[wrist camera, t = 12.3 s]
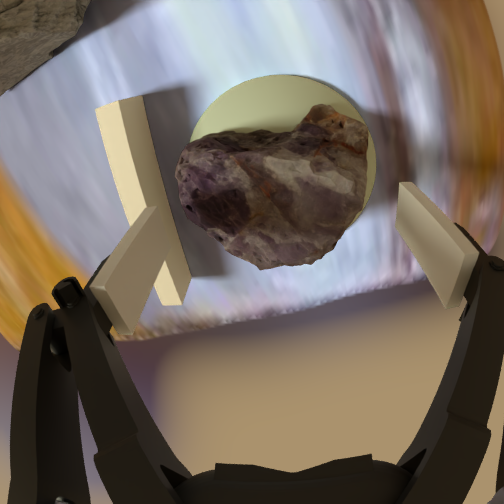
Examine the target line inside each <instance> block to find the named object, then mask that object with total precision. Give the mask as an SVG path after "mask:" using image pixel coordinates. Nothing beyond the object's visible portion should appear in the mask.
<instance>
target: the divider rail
mask: <svg viewBox="0 0 504 504" xmlns="http://www.w3.org/2000/svg"><path fill="white" fill-rule="evenodd" d="M95 111H96V115H97V119H98V123H99V127H100V131H101V135H102V139H103V143H104V146H105V150H106V153H107V157H108V160H109V164H110V167H111V171H112V174H113V177H114V180H115V183H116V187H117V190H118V193H119V196H120V199H121V202H122V205H123V208H124V210H125V213H126V216H127V219H128V222H129V224H130V227H131V226H132V225H133V223H134V222H135V221H136V219H137V218H138V217H139V215H140V214H141V213H142V211H143V210H144V209H145V208H147V207H153V206H158V209H159V212H160V215H161V218H162V222H163V225H164V228H165V231H166V234H167V237H168V240H169V243H170V246H171V248H170V250H169V253H168V255H167V257H166V259H165V261H164V263H163V265H162V268H161V270H160V272H159V274H158V276H157V278H156V281H155V283H154V287H155V289H156V292H157V294H158V296H159V298H160V300H161V303H162V305H182V304H183V301H184V298H185V295H186V292H187V289H188V287H189V284H190V281H191V278H192V277H191V274H190V271H189V267H188V264H187V261H186V258H185V255H184V252H183V249H182V246H181V242H180V239H179V236H178V233H177V229H176V226H175V223H174V219H173V216H172V213H171V209H170V206H169V202H168V199H167V195H166V191H165V188H164V184H163V181H162V177H161V173H160V169H159V165H158V161H157V158H156V154H155V150H154V146H153V141H152V137H151V133H150V129H149V124H148V120H147V116H146V111H145V106H144V102H143V97H142V95H141V96H136V97H131V98H127V99H122V100H118V101H115V102H113V103H110V104H107V105H105V106H102V107H100V108H97V109H95Z"/></svg>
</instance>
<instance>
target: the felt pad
mask: <svg viewBox="0 0 504 504" xmlns="http://www.w3.org/2000/svg"><path fill="white" fill-rule="evenodd" d="M318 104H324V105H330V106H332V107H333V108H334V109H335V111H337V112H338V113H340V114H343V115H346V116H348V117H350V118H353V119H356V120H358V121H361V122H362V123H363V124H365V122H364V120H363V119H362V117H361V116H360V114H359V113H358V112H357V110H356V109H355V108H354V107H353V106H352V105H351V104H350V103H349V102H348V101H347V100H346V99H345V98H344V97H343V96H341V95H340V94H339V93H337V92H336V91H334V90H333V89H331V88H329V87H327V86H326V85H324V84H321V83H319V82H316V81H314V80H311V79H307V78H303V77H299V76H290V75H270V76H264V77H258V78H255V79H251V80H248V81H245V82H243V83H241V84H239V85H237V86H235V87H233V88H231V89H229V90H228V91H226V92H225V93H223V94H222V95H221V96H219V97H218V98H217V99H216V100H215V101H214V102H213V103H212V104H211V105H210V106H209V107H208V108H207V110H206V111H205V112H204V113H203V114H202V116H201V118H200V119H199V121H198V123H197V124H196V126H195V129H194V131H193V134H192V136H191V139H190V142H192V141H194V140H197V139H200V138H202V137H203V136H205V135H207V134H210V133H219V132H223V131H235V132H236V133H249V132H253V131H256V130H260V129H263V130H269V131H271V132H274V133H281V132H291V131H293V130H294V128H295V127H296V125H297V124H299V123H300V122H301V121H302V120H303V118H304V117H305V116H306V115H307V114H308V113H309V111H310V109H311V108H312V106H314V105H318ZM365 125H366V124H365ZM368 133H369V137H368V149H367V162H368V168H367V184H366V191H365V197H364V204H363V209H364V207H365V205H366V204H367V202H368V200H369V197H370V195H371V192H372V189H373V185H374V181H375V175H376V154H375V149H374V144H373V140H372V137H371V135H370V132H369V130H368ZM363 209H362V211H363ZM362 211H360V212H358V214H357V215H356V217H355V218H354V220H353V222H354V221H355V220H356V219H357V218H358V216H359V215H360V213H361V212H362ZM353 222H352V223H353ZM352 223H351V224H352ZM351 224H350V225H351ZM350 225H349V226H350ZM349 226H348V227H349Z"/></svg>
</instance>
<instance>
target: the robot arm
mask: <svg viewBox="0 0 504 504" xmlns="http://www.w3.org/2000/svg"><path fill="white" fill-rule="evenodd" d="M395 227H396V229H397V230H398V232H399V233H400V235H401V236H402V238H403V239H404V241H405V242H406V244H407V245H408V247H409V248H410V250H411V251H412V253H413V255H414V256H415V258H416V259H417V261H418V263H419V264H420V266H421V267H422V269H423V271H424V272H425V274H426V276H427V277H428V279H429V281H430V283H431V284H432V286H433V288H434V290H435V291H436V293H437V295H438V297H439V299H440V300H441V302H442V304H443V306H444V308H445V309H449V308H453V307H458V306H459V305H460V303H461V300H462V298H463V296H464V297H465V298H466V300H467V304H466V306H465V308H464V311H463V313H462V315H461V317H460V319H459V321H461V324H460V328H459V331H458V334H457V338H456V341H455V344H454V347H453V350H452V353H451V356H450V359H449V362H448V365H447V367H446V370H445V373H444V375H443V378H442V381H441V383H440V385H439V388H438V391H437V393H436V395H435V397H434V400H433V402H432V404H431V406H430V408H429V411H428V413H427V415H426V417H425V419H424V421H423V423H422V425H421V427H420V429H419V431H418V433H417V435H416V437H415V438H414V440H413V442H412V444H411V445H410V446H409V448H408V449H407V450H406V452H405V453H404V454H403V455H402V457H401V459H400V460H399V461H398V463H397V464H396V465H395V464H392V463H388V462H384V461H378V460H372V454H368V455H362V456H357V457H351V458H344V459H337V460H333V461H330V462H327V463H324V464H321V465H319V466H315V467H313V468H309V469H306V470H303V471H299V472H295V473H290V472H284V471H280V470H274V469H270V468H264V467H261V466H256V465H243V464H222V463H216V464H215V470H210V471H206V472H202V473H200V474H197V475H194V476H192V475H191V473H190V472H189V471H188V470H187V469H186V467H184V465H183V464H182V463H181V462H180V461H179V460H178V459H177V458H176V456H175V455H174V453H173V452H172V450H171V448H170V447H169V445H168V444H167V442H166V441H165V439H164V437H163V436H162V434H161V432H160V431H159V429H158V427H157V426H156V424H155V422H154V420H153V419H152V417H151V415H150V413H149V411H148V410H147V408H146V406H145V404H144V402H143V400H142V398H141V397H140V395H139V393H138V391H137V389H136V387H135V385H134V383H133V381H132V379H131V377H130V374H129V372H128V370H127V368H126V366H125V364H124V362H123V360H122V357H121V355H120V353H119V351H118V348H117V346H116V343H115V341H114V338H113V336H112V335H111V333H110V332H109V331H110V329H111V327H112V325H113V327H114V328H115V330H116V331H117V333H118V334H127V335H133V332H134V330H135V327H136V325H137V323H138V320H139V318H140V315H141V313H142V311H143V308H144V306H145V303H146V301H147V299H148V297H149V294H150V292H151V290H152V287H153V285H154V283H155V281H156V278H157V276H158V274H159V272H160V270H161V268H162V265H163V263H164V261H165V259H166V257H167V255H168V253H169V250H170V248H171V246H170V243H169V240H168V237H167V234H166V231H165V228H164V225H163V222H162V218H161V215H160V212H159V209H158V206H153V207H147V208H145V209H144V210H143V211H142V213H141V214H140V215H139V217H138V218H137V219H136V221H135V222H134V223H133V225H132V226H131V227H130V229H129V230H128V231H127V233H126V234H125V235H124V237H123V238H122V239H121V241H120V242H119V244H118V245H117V246H116V248H115V249H114V251H113V252H112V254H111V255H109V256H108V257H107V258H106V259H104V260H103V261H102V262H101V264H100V265H99V267H98V268H97V270H96V271H95V272H94V274H93V276H92V277H91V278H90V280H89V281H88V283H87V285H86V286H85V288H84V289H82V287H81V286H80V284H79V282H78V280H77V279H76V277H67V278H65V279H63V280H62V281H60V282H59V283H58V284H57V285H56V286H55V287H54V289H53V290H52V296H53V297H54V299H55V300H56V302H57V303H58V305H59V307H60V309H57V310H53V311H52V309H51V308H50V306H49V305H48V304H47V303H42V304H40V305H37V306H36V307H34V308H33V309H32V311H31V312H30V314H29V316H28V320H27V324H26V327H25V332H24V336H23V340H22V345H21V349H20V354H19V360H18V365H17V371H16V378H15V385H14V393H13V401H12V413H11V429H10V467H11V481H10V487H9V494H8V503H7V504H91V503H90V494H89V487H88V482H87V476H86V471H85V465H84V458H83V451H82V444H81V434H80V423H79V409H78V391H79V395H80V399H81V402H82V405H83V408H84V412H85V415H86V418H87V420H88V423H89V426H90V429H91V432H92V435H93V437H94V440H95V442H96V445H97V448H98V453H96V454H95V455H94V462H95V466H96V468H97V471H98V473H99V475H100V478H101V480H102V482H103V484H104V486H105V488H106V490H107V492H108V494H109V497H110V499H111V500H112V502H113V504H462V503H463V502H464V500H465V498H466V496H467V494H468V492H469V490H470V488H471V486H472V484H473V481H474V479H475V477H476V475H477V473H478V470H479V468H480V465H481V463H482V461H483V458H484V455H485V453H486V450H487V447H488V445H489V442H490V438H491V430H489V429H488V428H487V422H488V419H489V415H490V412H491V409H492V405H493V401H494V397H495V394H496V389H497V385H498V380H499V376H500V371H501V366H502V360H503V355H504V261H503V260H502V259H500V258H498V257H496V256H488V255H487V254H486V253H485V252H484V250H483V249H482V248H481V247H480V246H479V245H478V243H477V242H476V241H474V239H473V238H472V237H471V236H470V234H469V233H468V232H467V231H466V230H465V229H464V228H463V227H461V226H460V225H458V224H457V223H453V222H452V221H451V220H450V219H449V218H448V217H447V216H446V215H445V214H444V213H443V212H442V211H441V210H440V209H439V208H438V207H437V206H436V205H435V204H434V203H433V202H432V201H431V200H430V199H429V198H428V197H427V196H426V195H425V194H424V193H423V192H422V191H421V190H420V189H419V188H418V187H417V186H415V185H414V184H413V183H412V182H399V194H398V204H397V214H396V222H395ZM51 351H52V352H51ZM487 504H504V427H503V436H502V445H501V452H500V459H499V465H498V471H497V481H496V494H495V495H494V497H493V498H492V500H491V501H489V502H488V503H487Z"/></svg>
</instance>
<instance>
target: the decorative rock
mask: <svg viewBox="0 0 504 504" xmlns="http://www.w3.org/2000/svg"><path fill="white" fill-rule="evenodd" d="M90 1H91V0H0V96H1V95H2V94H4V93H5V92H6V91H7V90H8V89H9V88H11V87H12V86H13V85H15V84H16V83H17V82H19V81H20V80H21V79H23V78H24V77H25V76H27V75H28V74H29V73H30V72H31V71H32V70H34V69H35V68H37V67H38V66H40V65H41V64H42V63H44V62H45V61H47V60H48V59H50V58H52V57H53V50H54V49H55V48H57V47H59V46H60V45H61V44H62V43H64V42H65V41H67V40H68V39H70V38H72V37H74V36H75V35H76V34H77V32H78V29H79V27H80V26H81V25H82V24H83V18H84V13H85V11H86V9H87V6H88V5H89V3H90Z"/></svg>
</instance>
